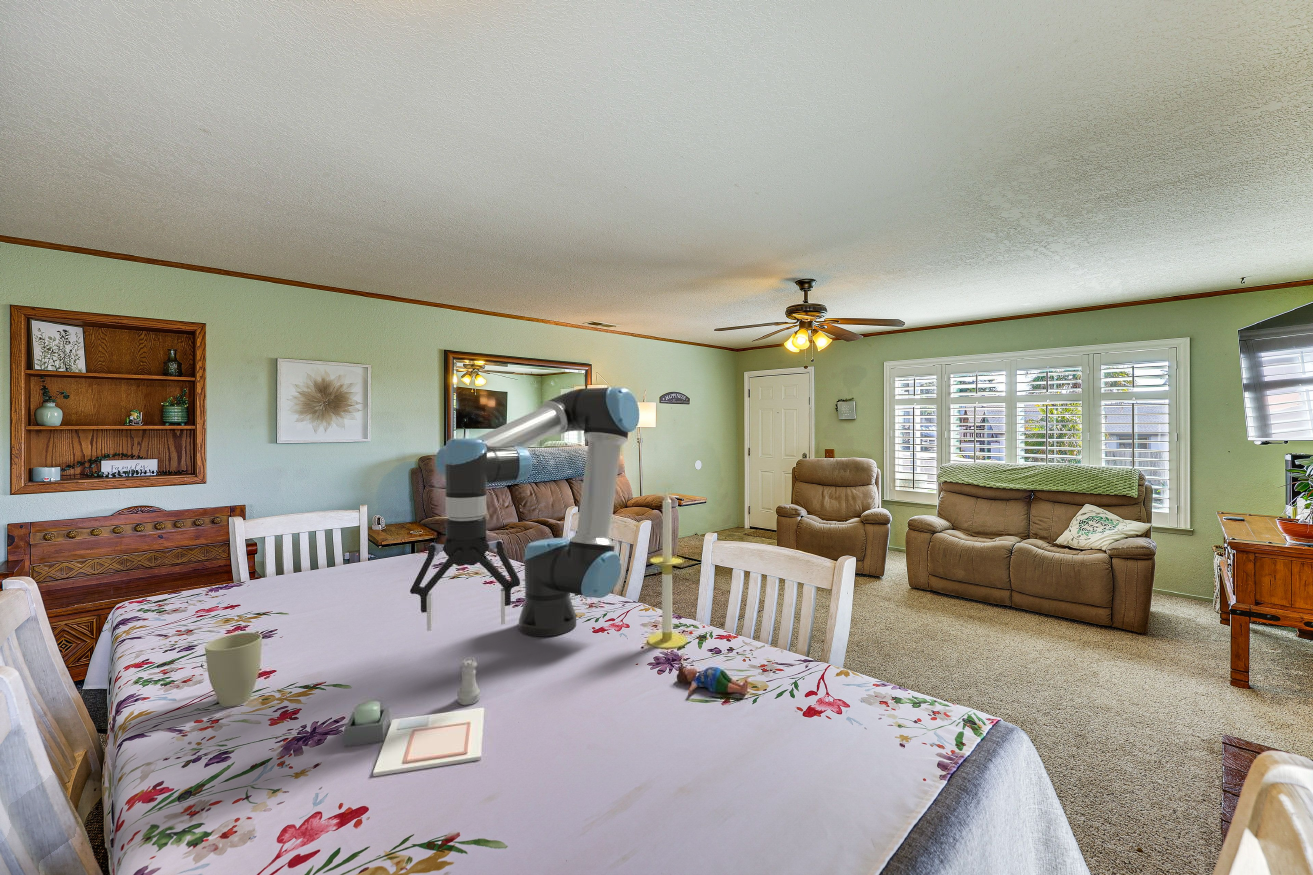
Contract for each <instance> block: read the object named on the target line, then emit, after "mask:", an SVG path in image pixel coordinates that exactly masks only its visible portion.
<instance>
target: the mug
mask: <svg viewBox="0 0 1313 875" xmlns="http://www.w3.org/2000/svg"><path fill="white" fill-rule="evenodd" d="M262 639H263V636H262V634H261V633H259V632H246V631H245V632H237V633H234V634H228V635H224V636H220V637H217V638H215V639H213V640H211V641H209V642H208V643H206V644H205V646H204V651H205V659H206V668H207V675H208V681H209V683H210V685H211V688H212V690H213V692H214V694H215V696H216V698H217V701H218V703H219V705H220V706H221V707H224V708H231V707H236V706H240V705H243V704H245V703H247V702H248V701H250V700H251V699H252V696H253V692H254V689H255V686H256V683H257V680H258V677H259V673H260V670H261V661H262V647H263V646H262V644H263V643H262V642H263V640H262Z"/></svg>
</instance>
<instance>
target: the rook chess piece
mask: <svg viewBox="0 0 1313 875" xmlns="http://www.w3.org/2000/svg"><path fill="white" fill-rule="evenodd" d="M477 666H478V663H477V661H476V659H475V658H474V657H472V658H471V657H467V659H466V658H464V659H462V660H461V663H460V665H459V668H460V669H461V670H462V671H461V674H460V675H461V677H462V678H461V686H460V688H459V690H458V692H457V699H456V701H457V702H458V703H459V704H460V705H462V706H470V705H473V704H476V703H478V702H479V700H480V699H481V697H482V695H481V689H480V688H479V685H478V684H477V679H476V673H477V670H476V667H477Z"/></svg>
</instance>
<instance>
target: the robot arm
mask: <svg viewBox="0 0 1313 875" xmlns="http://www.w3.org/2000/svg"><path fill="white" fill-rule="evenodd" d="M639 421H640V409H639V404H638V401H637V399H636V396H635V395H634V394H633V393H632V392H631V390H629V388H626V387H615V386H610V387H591V388H588V387H587V388H586V387H584V388H575V389H573V390H570V391H568V392H567V391H566V392H565V393H562V394H560V395H557V396H555V397H553V398H550V399H548V400H547V401H544V402H543V403H542V404H540V406H539V408H538V409H536V410H534V411H532V412H530V413H527V414H526V415H522V416H521V417H519V418H516V419H514V420H512V421H510V422H508V423H506V424H503V425H501V426H499V427H497V428H495V429H493V430H490V431H488V432H486V433H483V434H482V435H480V436H477V437H471V438H468V437H466V438H464V437H463V438H459V437H458V438H451V439H448V440H447V442H446V444H445V445H444V446H442V447H441V448H440V449H439V450H438V451H437V453H436V454H435V459H434V465H435V469H436V470H437V472H438V474H439V475H440V476H442V477H443V478H445V479H444V480H445V482H444V483H445V498H444V499H445V517H447V519H446V520H445V543H443V544H442V543H436V542H435V541H434V542H433V541H432V542H431V543H430V544H429V546H428V548H427V554H426V555H427V556H426V558H425V560H424V562H423V564H422V567H421V568H420V570H419V572H418V574H417V576H416V578H415V580H414V582H413V584H412V586H411V588H410V590H409V592H410V594H412V595H418V596H419V597H420V611H421V612H420V613H422V614H424V613H425V614H426V631H427V632H430V631H432V630H433V626H434V614H433V613H434V611H433V610H434V609H433V607H434V605H433V604H434V603H433V602H434V601H433V600H434V599H433V598H434V596H433V594H434V593H433V592H431V591H432V589H433V588H434V587H435V586H436V584H437V583H438V582H440V580H441V579H442V578H443V576H444V575H445V574H446V573H447V572H448V571H449V570H450V568H451V567H452V566H453V565H456V566H457V567H464V566H466V565H467V566H470V567H472V566H476V565H477V564H479V565H481V567H483V568H484V569H485V570H486V572H488V573H489V574H490V575H491V577H493V578H494V580H495V581H496V582H498V584H499V585H500V586H501V587H500V625H506V607H510V606H511V603H512V597H511V596H512V589H514V588H516V587H519V586H520V585H521V579H520V577H519V575H518V574H517V571H516V570H515V568H514V566H513V564H512V562H511V560H510V559H509V557H508V555H507V553H506V551H505V549H504V542H503V540H502V539H501V538H497V540H494V541H488V538H487V518H486V517H485V515H487V485H491V484H501V483H511V482H512V483H516V482H518V481H523V480H526V478H528V477H529V476H530V474H531V472H532V470H533V458H532V455H531V453H530V452H529V450H528V448H529V447H531V446H533V445H536V444H537V443H539V442H541V441H543V440H545V439H547V438H549V437H551V436H556V437H557V436H560V435H562V434H565V433H568V432H582V431H583V436H584V438H585V439H586V440H587V442H588V443H587V450H586V459H585V468H584V472H583V473H584V475H583V481H582V490H581V497H580V502H579V503H580V504H579V512H578V520H577V527H576V528H577V529H576V533H575V535H573V537H571V538H570V539H568V538H566V537H556V538H555V537H554V538H546V539H541V540H540V539H539V540H536V541H532V542H530V543H528V544H527V545H526V546H525V548H524V558H523V562H524V563H523V564H524V592H525V593H524V596H525V597H524V600H523V601H524V602H523V606H522V609H521V611H520V615H519V617H518V618H519V619H518V630H519V632H520V633H522V634H525V635H526V636H532V637H551V636H552V637H553V636H557V635H562V634H566V633H569V632H570V631H573V630H574V629H575V628H576V627H577V613H576V611H575V608H574V605H573V602H572V599H571V596H570V594H574V595H577V596H583V597H585V598H594V599H602V598H605V597H607V596H608V595H610V594H611V593H612V592H613V591H614V589H615V588H616V587H617V585H618V582H619V581H620V578H621V574H622V566H623V565H622V561H621V557H620V555H619V554H617V552H615V547H616V546H615V543H614V541H613V540H612V539H611V531H612V523H613V522H612V521H613V516H614V515H613V513H614V512H613V511H614V506H615V505H614V504H615V498H616V497H615V496H616V490H617V482H618V481H617V480H618V473H619V462H620V456H621V448H622V445H624V444H625V443H626V442H627V441H628V437H629V433H631V432H633V431H634V430H635V429H636V428H637V426H639V423H640V422H639ZM489 549H492V551H493V552H494V553H497V556H498V559H499V561H501V563H502V565H503V567H504V569H505V571H506V573H507V575H508V576H509V578H510V580H509V579H508V578H507V577H506V576H505V575H504V574H503V573H502V572H501V571H500V570H499V569H498V568H497V567H496V565H494V563H492V561H490V558H488V556H486V554H487V551H488V550H489ZM442 551H443V552H444V554H445V555H446V556H447V557H448V558H447V559H446V560H445V561H444V562H443V563H442V564H441V566H440V567H439V568H438V569H437V571H436V572H435V573H434V574H433V576H431V578H430V579H429V580H428V581H427V582H426V584H425V585H424V586H421V585H422V582H423V580H424V578H425V576H426V574H427V572H428V571H429V568H430V567H431V565H432V562H433V561H434V559H435V556H436V557H437V556H439V554H440V553H441V552H442Z"/></svg>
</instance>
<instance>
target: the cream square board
mask: <svg viewBox="0 0 1313 875" xmlns="http://www.w3.org/2000/svg"><path fill="white" fill-rule="evenodd" d="M484 717H485V707H480V708H479V707H478V708H477V707H476V708H471V709H464V710H454V711H449V712H448V711H447V712H441V713H433V714H426V715H418V716H417V715H416V716H410V717H403V718H394V719H392V720H391V723H390V724H389V727H388V730H387V733H386V735H385V738H384V741H383V745H382V748H381V749H380V753H379V755H378V758H377V762H376V764H375V767H374V769H373V771H372V776H373V777H377V776H384V775H391V774H397V773H406V772H409V771H417V770H424V769H431V768H437V767H443V766H450V765H456V764H462V763H469V762H475V761H480V760H482V750H483V746H482V745H483V736H484V735H483V732H484V719H485V718H484Z"/></svg>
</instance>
